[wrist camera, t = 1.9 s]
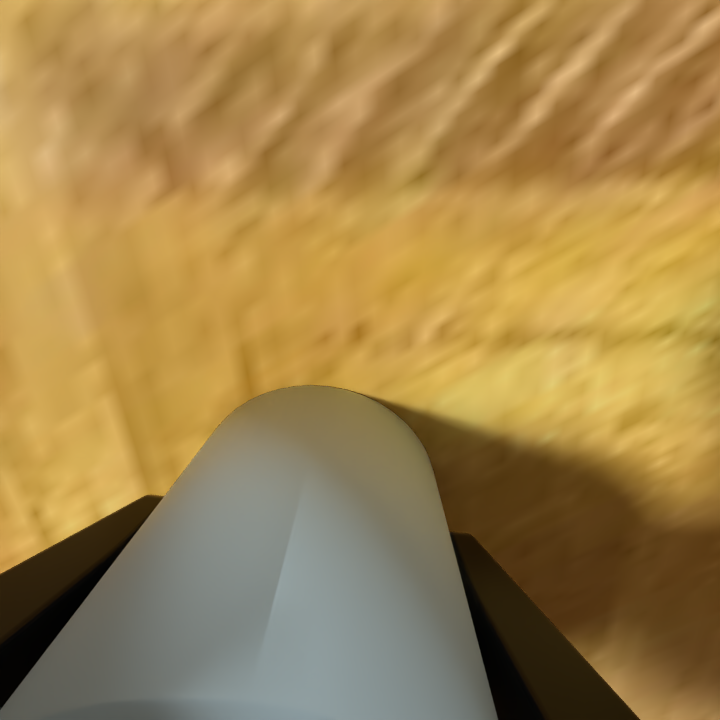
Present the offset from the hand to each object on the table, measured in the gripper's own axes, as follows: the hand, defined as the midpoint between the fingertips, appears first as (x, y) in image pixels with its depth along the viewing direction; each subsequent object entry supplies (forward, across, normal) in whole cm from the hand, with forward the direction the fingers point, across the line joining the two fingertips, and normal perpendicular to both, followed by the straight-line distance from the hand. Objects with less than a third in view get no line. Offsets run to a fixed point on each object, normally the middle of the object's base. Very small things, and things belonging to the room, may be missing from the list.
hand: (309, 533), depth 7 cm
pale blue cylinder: (+1, 0, 0) cm, 1 cm away
